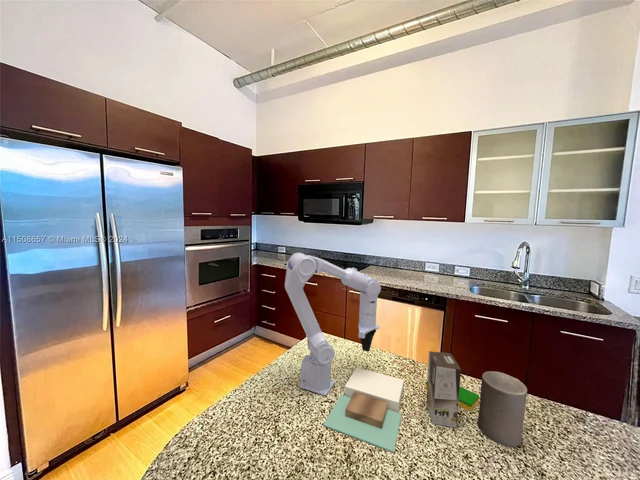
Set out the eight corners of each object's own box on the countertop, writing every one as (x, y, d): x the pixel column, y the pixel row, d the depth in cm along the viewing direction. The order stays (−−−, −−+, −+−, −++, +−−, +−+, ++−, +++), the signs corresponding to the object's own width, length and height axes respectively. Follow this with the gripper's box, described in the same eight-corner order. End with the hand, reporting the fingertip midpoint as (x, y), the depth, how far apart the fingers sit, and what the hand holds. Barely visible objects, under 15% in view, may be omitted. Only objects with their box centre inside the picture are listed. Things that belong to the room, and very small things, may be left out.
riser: (344, 395, 81) (344, 386, 81) (355, 375, 92) (356, 367, 92) (398, 412, 75) (398, 402, 74) (403, 388, 86) (403, 379, 85)
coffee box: (458, 428, 70) (462, 369, 68) (432, 424, 71) (435, 366, 70) (448, 405, 78) (451, 352, 77) (425, 401, 80) (428, 350, 79)
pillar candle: (469, 423, 71) (473, 370, 70) (492, 413, 75) (497, 363, 74) (507, 453, 63) (513, 393, 61) (531, 439, 67) (537, 383, 65)
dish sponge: (434, 381, 91) (435, 374, 91) (479, 402, 81) (479, 395, 80) (424, 389, 86) (425, 382, 86) (470, 413, 76) (471, 405, 76)
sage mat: (323, 426, 69) (323, 424, 69) (341, 395, 81) (341, 394, 81) (393, 452, 62) (393, 451, 61) (401, 415, 74) (401, 413, 74)
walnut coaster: (345, 416, 72) (345, 409, 72) (353, 398, 79) (354, 392, 79) (381, 428, 68) (382, 421, 68) (387, 409, 75) (387, 402, 75)
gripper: (374, 321, 82) (372, 363, 83) (383, 307, 95) (382, 344, 96) (352, 317, 85) (351, 357, 86) (364, 304, 98) (363, 340, 99)
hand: (366, 350), depth 91 cm, fingers closed
